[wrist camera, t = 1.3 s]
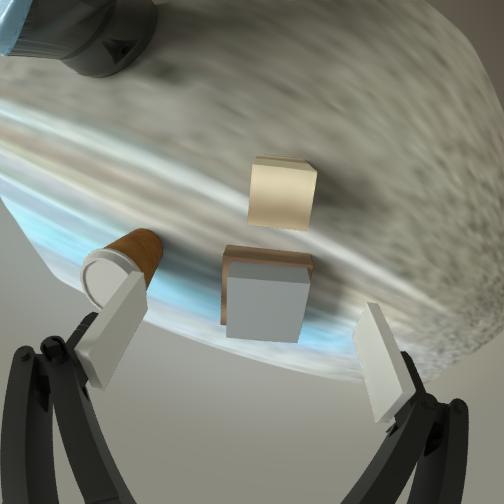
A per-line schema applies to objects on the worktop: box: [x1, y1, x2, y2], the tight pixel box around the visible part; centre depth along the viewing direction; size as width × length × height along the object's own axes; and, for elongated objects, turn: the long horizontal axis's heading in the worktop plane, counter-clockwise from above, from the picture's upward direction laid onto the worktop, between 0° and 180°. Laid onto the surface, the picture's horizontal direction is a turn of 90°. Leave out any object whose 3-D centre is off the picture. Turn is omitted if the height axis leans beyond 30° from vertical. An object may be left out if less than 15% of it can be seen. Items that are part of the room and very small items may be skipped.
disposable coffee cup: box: [80, 228, 163, 310], centre depth 35 cm, size 10×10×12 cm
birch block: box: [247, 154, 317, 232], centre depth 30 cm, size 6×6×10 cm
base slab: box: [221, 245, 314, 325], centre depth 40 cm, size 12×12×4 cm
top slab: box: [226, 261, 310, 343], centre depth 37 cm, size 10×10×4 cm
